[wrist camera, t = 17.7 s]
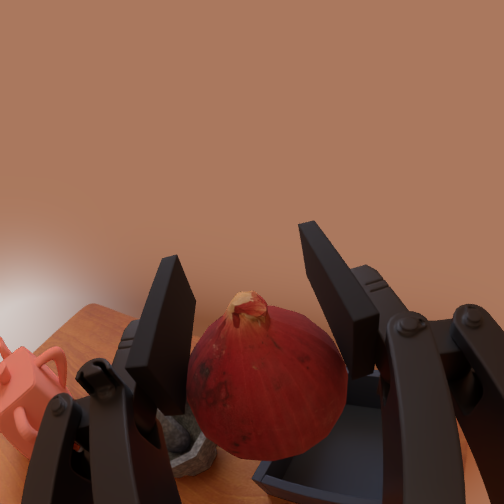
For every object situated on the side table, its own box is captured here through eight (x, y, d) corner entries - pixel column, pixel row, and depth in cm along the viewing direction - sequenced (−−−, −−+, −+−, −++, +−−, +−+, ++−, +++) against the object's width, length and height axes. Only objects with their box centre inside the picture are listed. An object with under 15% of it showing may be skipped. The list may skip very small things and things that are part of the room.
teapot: (89, 478, 21) (9, 421, 15) (16, 464, 20) (-48, 410, 14) (105, 381, 35) (57, 315, 29) (39, 387, 35) (-6, 331, 29)
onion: (259, 503, 8) (168, 432, 4) (204, 415, 13) (127, 296, 9) (370, 428, 10) (391, 292, 6) (297, 362, 15) (269, 230, 11)
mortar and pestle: (251, 446, 24) (213, 387, 19) (191, 506, 18) (121, 469, 13) (183, 398, 31) (137, 332, 26) (130, 444, 26) (68, 386, 20)
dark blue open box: (424, 409, 22) (440, 374, 19) (397, 519, 13) (416, 511, 10) (314, 395, 28) (310, 360, 25) (266, 493, 19) (250, 478, 16)
